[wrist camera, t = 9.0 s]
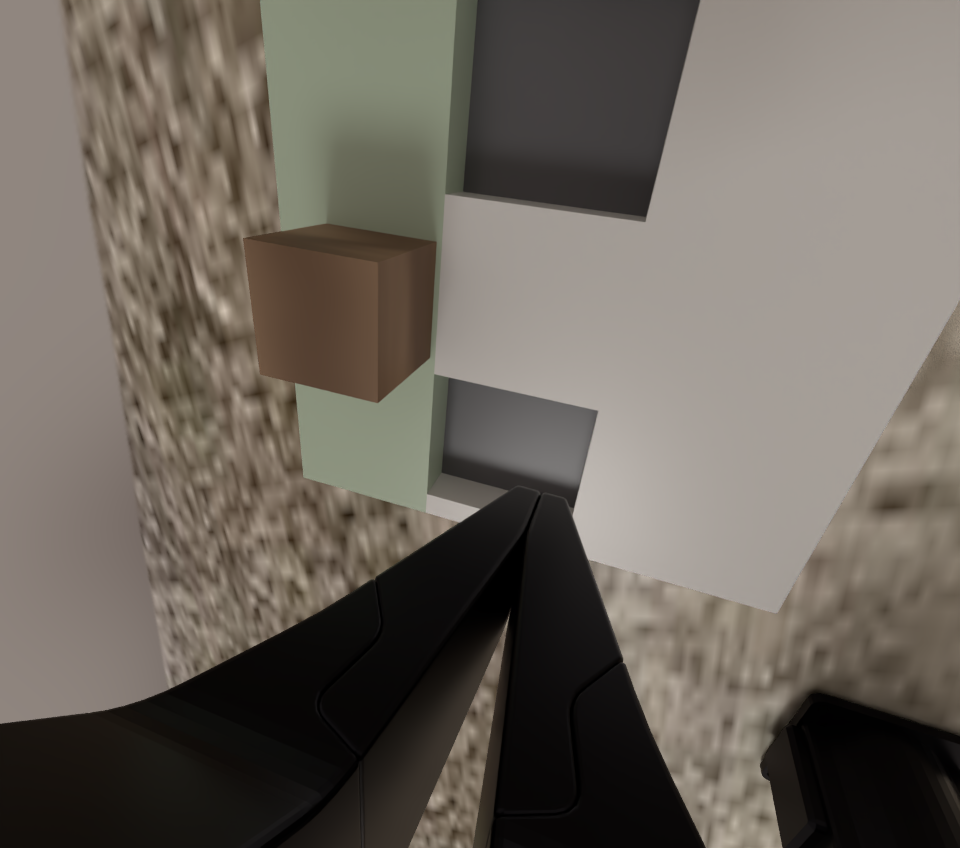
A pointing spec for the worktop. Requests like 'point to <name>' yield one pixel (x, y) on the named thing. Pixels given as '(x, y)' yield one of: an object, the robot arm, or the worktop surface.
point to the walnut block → (341, 307)
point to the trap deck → (634, 255)
